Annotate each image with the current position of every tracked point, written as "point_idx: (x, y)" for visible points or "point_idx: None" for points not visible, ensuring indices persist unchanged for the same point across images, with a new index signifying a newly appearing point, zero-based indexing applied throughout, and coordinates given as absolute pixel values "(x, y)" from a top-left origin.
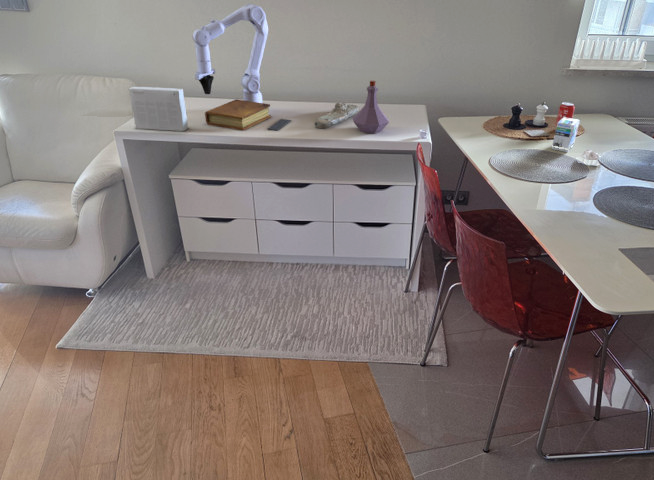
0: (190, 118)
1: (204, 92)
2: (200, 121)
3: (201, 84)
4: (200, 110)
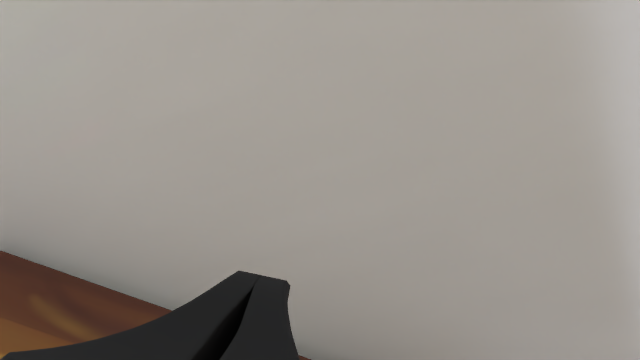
0: (142, 6)
1: (227, 278)
2: (71, 152)
3: (124, 337)
4: (523, 3)
